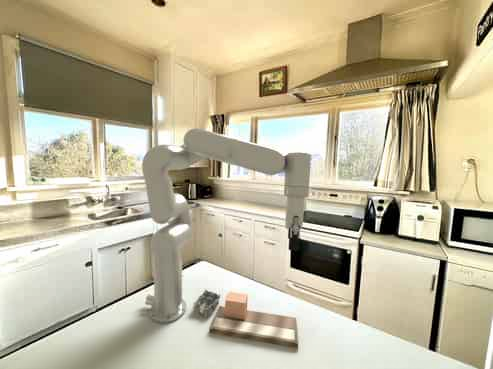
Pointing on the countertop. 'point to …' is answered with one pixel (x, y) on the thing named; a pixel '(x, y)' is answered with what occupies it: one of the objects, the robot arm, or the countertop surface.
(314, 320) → the countertop surface
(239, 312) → the peach rectangular block
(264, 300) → the countertop surface
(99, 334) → the countertop surface
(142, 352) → the countertop surface
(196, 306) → the egg carton
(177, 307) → the robot arm
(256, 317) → the board
